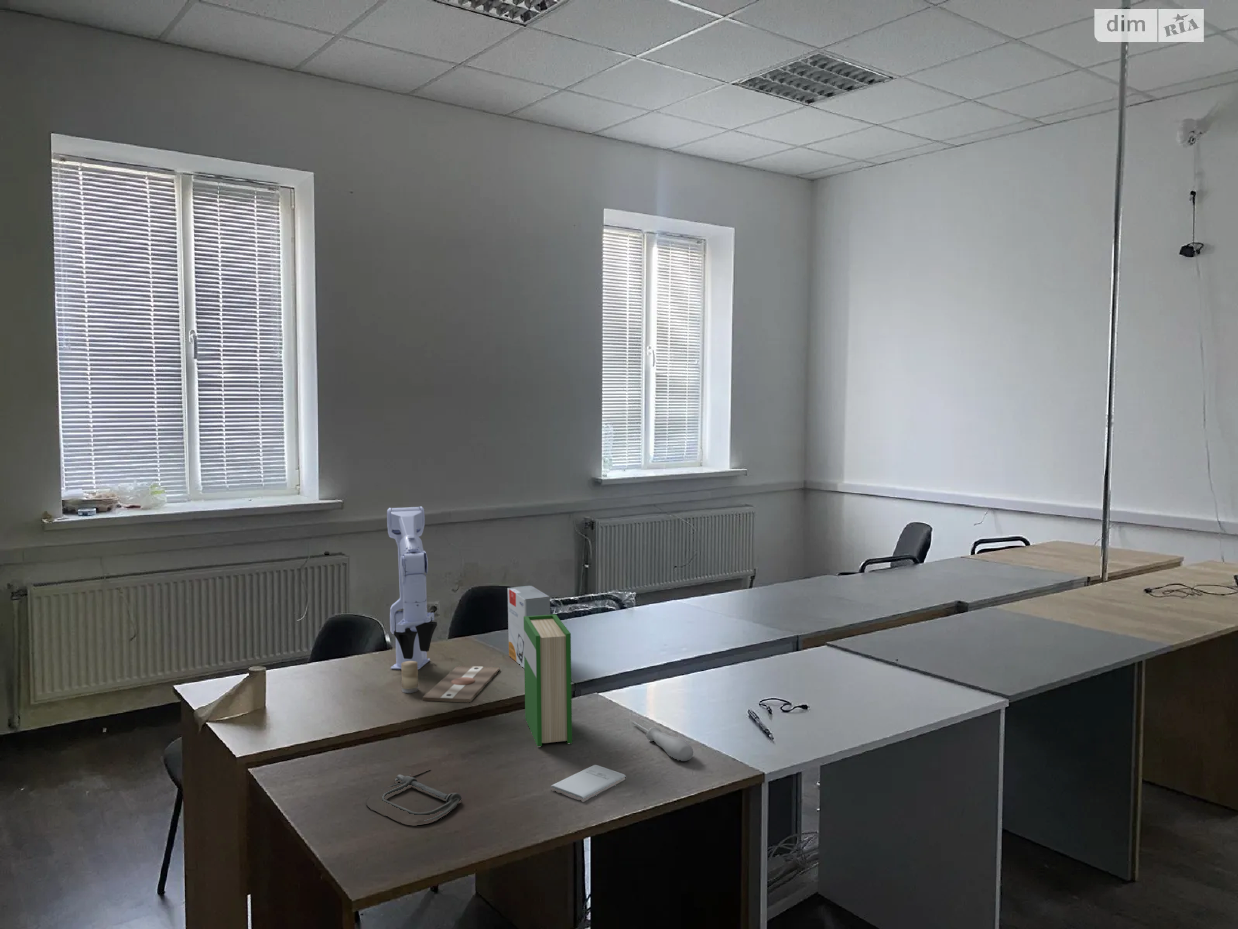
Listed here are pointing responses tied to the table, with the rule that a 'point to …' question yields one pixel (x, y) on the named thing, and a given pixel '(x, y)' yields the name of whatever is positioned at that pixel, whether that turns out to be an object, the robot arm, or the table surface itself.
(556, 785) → the external hard drive
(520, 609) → the hard drive box
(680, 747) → the screwdriver
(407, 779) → the c clamp
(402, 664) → the tan cylinder
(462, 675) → the board
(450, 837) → the table surface
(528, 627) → the hardback book
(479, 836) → the table surface
